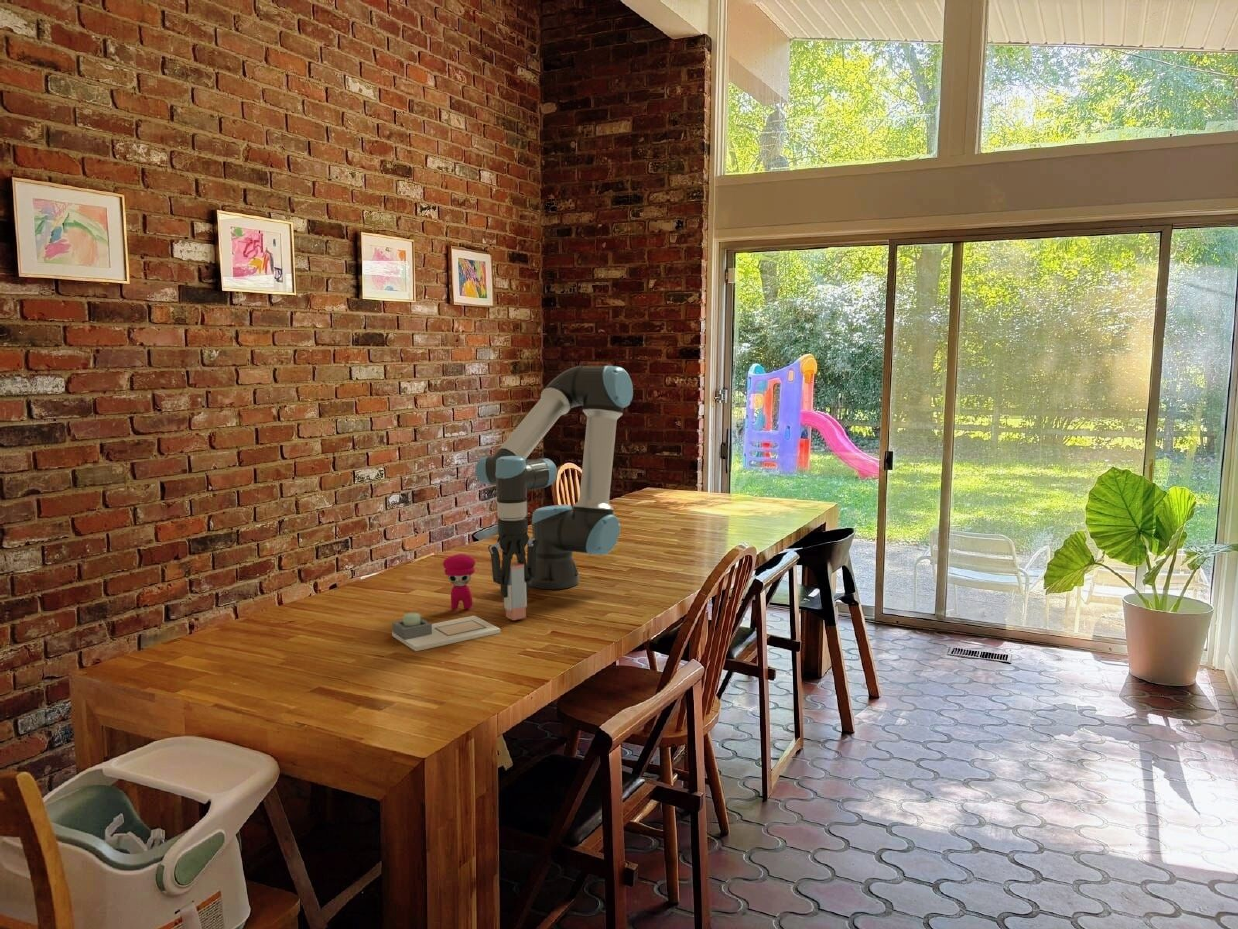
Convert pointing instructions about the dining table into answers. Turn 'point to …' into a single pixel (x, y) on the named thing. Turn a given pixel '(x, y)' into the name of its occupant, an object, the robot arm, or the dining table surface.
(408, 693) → the dining table surface
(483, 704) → the dining table surface
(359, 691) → the dining table surface
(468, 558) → the toy
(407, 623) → the button
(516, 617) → the grey and pink block
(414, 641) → the panel
